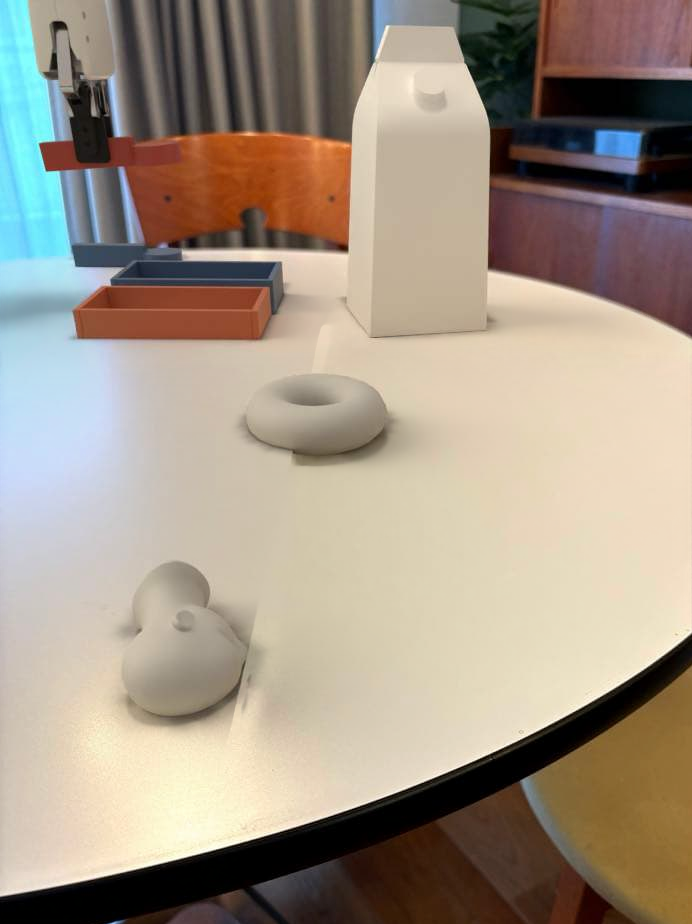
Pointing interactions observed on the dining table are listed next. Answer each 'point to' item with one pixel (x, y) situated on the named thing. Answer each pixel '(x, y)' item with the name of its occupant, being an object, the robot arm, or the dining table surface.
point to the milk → (419, 190)
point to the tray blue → (205, 275)
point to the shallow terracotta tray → (111, 154)
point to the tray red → (173, 312)
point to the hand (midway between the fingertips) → (97, 160)
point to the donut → (316, 413)
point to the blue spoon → (120, 254)
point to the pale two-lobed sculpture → (179, 644)
